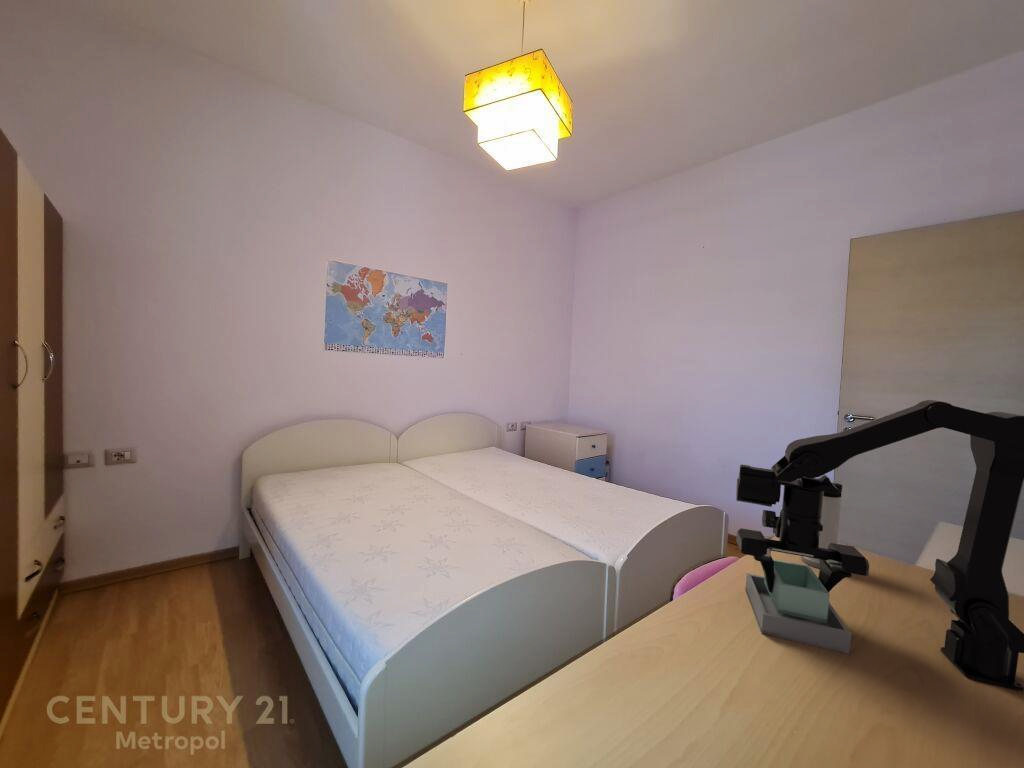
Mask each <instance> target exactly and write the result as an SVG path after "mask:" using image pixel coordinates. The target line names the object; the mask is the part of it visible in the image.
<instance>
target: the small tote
mask: <svg viewBox="0 0 1024 768" xmlns="http://www.w3.org/2000/svg"><path fill="white" fill-rule="evenodd" d="M772 559H773V561H774V585H773V591H772V593H770V592H769V590H768V587H767V583H766V579H765V580H764V584H765V586H766V588H767V590H768V592H769V594H770V596H771V599H772V601H773V603H774V605H775V607H776V609H777V612H778V613H783V614H787V615H792V616H797V617H801V618H806V619H810V620H815V621H820V622H824V623H827V616H828V606H829V603H830V592H828V591H827V590H826V588H825V587H824V586H823V584H822V583H821V581H820V580H819V579H818V577H819V576H817V574H816V573H815V572H814V570H813V568H811V567H810V565H808V564H807V565H806V564H803V563H802V564H801V563H795V562H791V561H784V560H779V559H774V558H772Z"/></svg>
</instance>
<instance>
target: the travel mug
mask: <svg viewBox="0 0 1024 768" xmlns="http://www.w3.org/2000/svg"><path fill="white" fill-rule="evenodd" d="M815 479H818V477H816V478H815ZM831 483H832V484H834V485H835V486H836V487H837V489H838V490H839V493H830V492H824V495H823V505H822V516H821V524H822V525H823V531H820V537H819V548H825V549H828V545H829V544H830V543H835V544H838V537H839V536H838V535H839V527H840V526H839V525H840V518H841V517H840V516H841V506H842V498H843V497H842V491H843V484H840V483H837V482H831ZM800 558H801V560H802V562H803V563H805V565H806V564H807V565H808V566H811V567H814V568H816V569H820V562H819V559H816V558H810V557H805V556H800Z"/></svg>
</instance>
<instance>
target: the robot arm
mask: <svg viewBox="0 0 1024 768" xmlns="http://www.w3.org/2000/svg"><path fill="white" fill-rule="evenodd" d="M941 428H942V429H943V428H944V429H948V430H950V431H955V432H958V433H961V434H966V435H969V436H970V437H969V439H970V442H969V443H970V449H971V453H972V456H973V459H974V463H975V464H974V465H975V468H976V469H975V474H974V479H973V483H972V487H971V492H970V495H969V500H968V504H967V508H966V513H965V517H964V521H963V526H962V529H961V530H962V531H961V535H960V538H959V544H958V548H957V552H956V554H955V555H954V556H953V557H952V558H950V560H948V561H945V560H943V559H941V558H936V559H935V562H934V563H935V564H934V565H935V566H934V567H935V571H934V574H933V575H932V577H931V578H930V579H929V580H930V582H931V583H932V584H933V585H934V589H935V592H936V594H937V595H938V597H939V598H940V599H941V600H942V602H944V603H945V605H947V607H948V608H949V610H950V612H951V614H953V615H954V616H955V617H956V618H957V620H956V619H951V620H950V628H947V629H946V631H945V639H944V646H940V649H939V650H940V652H941V653H942V654H943V655H945V656H946V658H947V659H948V660H949V661H950V662H951V663H952V664H953V665H954V666H955V667H956V668H957V669H958V670H959V671H960V673H962V675H964V676H965V677H966V678H969V679H973V680H976V681H979V682H980V681H981V682H986V683H990V684H994V685H998V686H1003V687H1005V688H1010V689H1015V690H1019V691H1024V685H1023V684H1022V683H1021V682H1020V681H1019V680H1018V679H1017V678H1016V677H1017V670H1018V663H1019V654H1024V632H1023V631H1022V630H1020V629H1019V627H1018V626H1016V625H1015V624H1014V623H1013V622H1012V621H1011V619H1010V597H1009V596H1010V595H1009V591H1008V588H1007V585H1006V582H1005V579H1004V575H1003V567H1004V562H1005V559H1006V554H1007V550H1008V547H1009V542H1010V540H1011V539H1010V538H1011V534H1012V530H1013V527H1014V526H1013V525H1014V522H1015V518H1016V514H1017V513H1016V512H1017V510H1018V507H1019V501H1020V497H1021V493H1022V489H1023V486H1024V485H1023V484H1024V415H1023V414H1016V413H1012V412H1011V413H1010V412H1006V411H1005V412H1004V411H991V412H990V411H989V412H986V413H985V412H981V411H976V410H972V409H969V408H964V407H960V406H957V405H956V406H955V405H952V404H951V403H949V402H945V401H941V400H934V399H927V400H926V399H925V400H922V401H919V403H917V404H915V405H913V406H910V407H907V408H905V409H901V410H899V411H896V412H894V413H891V414H888V415H885V416H882V417H879V418H877V419H874V420H871V421H869V422H865V423H863V424H860V425H857V426H854V427H851V428H849V429H846V430H843V431H840V432H836V433H831V434H823V435H815V436H809V437H805V438H799V439H795V440H793V441H791V442H789V444H787V446H786V449H785V452H784V455H783V456H782V457H781V458H780V459H779V460H778V461H776V462H775V463H774V464H773V465H772V466H771V468H763V467H756V466H751V465H749V464H740V465H739V472H738V478H737V479H736V489H735V490H736V491H735V495H736V496H735V499H736V500H735V501H736V502H741V503H747V504H751V505H758V506H765V507H770V508H772V507H773V505H775V506H776V505H777V503H780V500H781V490H782V489H781V488H782V486H783V493H782V494H783V495H782V506H781V507H782V508H781V509H780V512H779V516H777V513H776V511H774V510H766V509H763V510H762V516H761V519H762V520H761V524H762V527H765V528H769V529H770V528H771V529H772V533H773V534H774V535H775V537H776V538H777V539H779V540H776V539H769V538H765V536H764V534H763V532H762V531H760V530H753V529H747V528H740V529H739V530H737V531H736V539H735V542H736V543H737V546H738V548H739V551H740V553H741V554H743V555H746V556H752V557H753V559H754V560H755V561H757V562H760V565H761V567H762V571H763V574H764V575H763V576H764V577H765V579H766V583H767V587H768V590H769V592H770V593H772V591H773V585H774V561H773V559H774V558H773V557H772V555H771V554H772V552H777V553H781V554H782V553H783V554H788V555H794V556H799V557H801V556H805V557H810V558H816V559H819V562H820V568H819V572H818V573H819V574H818V576H817V577H818V579H819V580H820V581H821V583H822V584H823V586H824V587H825V588H826V590H827V591H828V592H829V593H830V592H831V591H832V589H833V588H835V586H837V585H838V584H839V583H840V582H842V580H843V579H845V578H847V579H849V578H852V574H854V575H858V576H863V577H867V576H869V575H870V573H869V572H870V563H869V560H868V559H867V557H865V556H864V555H863V554H862V553H861V552H860V551H859V549H857V548H856V547H854V546H852V545H848V544H841V543H837V544H835V543H830V544H829V545H828V549H825V548H819V537H820V531H823V525H822V524H821V516H822V505H823V495H824V492H830V493H839V490H838V489H837V487H836V486H835V485H834V484H832V483H833V482H832V481H831V479H830V477H828V475H826V474H828V473H830V472H832V471H833V470H836V469H837V468H839V467H841V466H842V465H843V464H845V463H846V462H848V461H849V460H850V459H852V458H854V457H856V456H859V455H861V454H864V453H868V452H870V451H873V450H876V449H879V448H883V447H886V446H887V445H891V444H894V443H896V442H900V441H903V440H906V439H911V438H912V437H913V438H914V437H915V436H918V435H921V434H924V433H928V432H931V431H933V430H937V429H941ZM815 478H817V479H815Z"/></svg>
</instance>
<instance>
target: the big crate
mask: <svg viewBox="0 0 1024 768" xmlns="http://www.w3.org/2000/svg"><path fill="white" fill-rule="evenodd" d="M764 580H765V576H764V575H763V576H762V575H757V574H751V573H746V577H745V589H744V590H745V593H746V595H747V598H748V601H749V604H750V606H751V608H752V611H753V614H754V617H755V619H756V620H755V621H757V622H756V623H757V624H758V627H759V631H760V633H761V634H764V635H767V636H771V637H776V638H780V639H784V640H788V641H793V642H796V643H800V644H801V643H802V644H804V645H805V644H806V645H810V646H813V647H818V648H822V649H826V650H831V651H835V652H839V653H842V654H843V653H844V654H847V655H849V654H850V649H851V641H852V632H851V631H850V630H849V628H848V627H847V625H846V624H845V623H844V621H843V619H842V618H841V617H840V615H839V614H838V612H837V611H836V610H835V608H834V606H833V605H832V604H831V603H830V602H829V606H828V616H827V623H824V622H820V621H815V620H810V619H806V618H801V617H797V616H792V615H787V614H783V613H778V612H777V609H776V607H775V605H774V603H773V601H772V599H771V596H770V594H769V592H768V590H767V588H766V586H765V584H764Z"/></svg>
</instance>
